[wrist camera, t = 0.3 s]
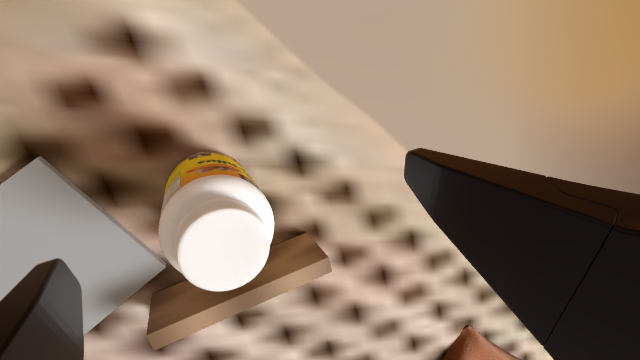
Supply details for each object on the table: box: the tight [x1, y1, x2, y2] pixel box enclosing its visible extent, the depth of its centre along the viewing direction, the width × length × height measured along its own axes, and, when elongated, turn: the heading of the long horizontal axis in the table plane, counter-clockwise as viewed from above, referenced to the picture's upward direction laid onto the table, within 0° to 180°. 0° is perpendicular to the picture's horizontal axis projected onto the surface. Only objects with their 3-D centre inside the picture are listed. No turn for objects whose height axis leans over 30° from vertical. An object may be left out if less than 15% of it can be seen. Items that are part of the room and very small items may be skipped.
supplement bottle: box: [159, 152, 274, 292], centre depth 19 cm, size 6×6×10 cm
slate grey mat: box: [0, 156, 166, 335], centre depth 21 cm, size 10×10×1 cm
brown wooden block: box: [147, 232, 332, 350], centre depth 25 cm, size 12×4×4 cm, turn 104°
